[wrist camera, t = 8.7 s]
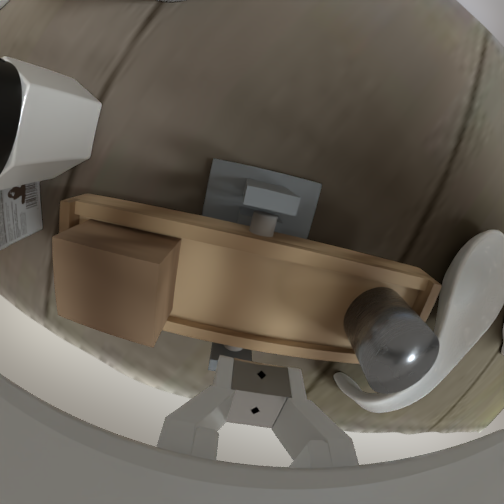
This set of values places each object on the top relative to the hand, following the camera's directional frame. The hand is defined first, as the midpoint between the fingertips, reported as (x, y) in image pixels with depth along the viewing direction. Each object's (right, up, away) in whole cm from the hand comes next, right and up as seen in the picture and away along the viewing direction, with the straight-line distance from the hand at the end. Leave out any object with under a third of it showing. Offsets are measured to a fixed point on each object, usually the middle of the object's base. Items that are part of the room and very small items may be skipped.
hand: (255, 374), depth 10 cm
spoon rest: (+18, -2, +15) cm, 24 cm away
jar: (-16, +15, +8) cm, 24 cm away
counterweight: (+8, 0, +7) cm, 11 cm away
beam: (0, +2, +8) cm, 8 cm away
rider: (-7, +4, +6) cm, 10 cm away
